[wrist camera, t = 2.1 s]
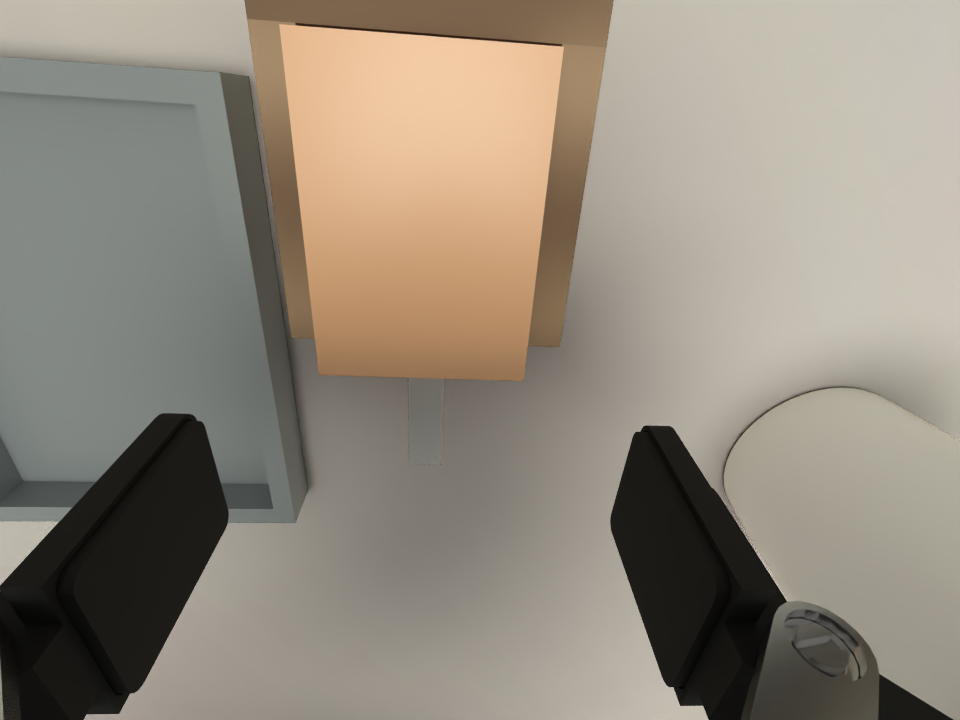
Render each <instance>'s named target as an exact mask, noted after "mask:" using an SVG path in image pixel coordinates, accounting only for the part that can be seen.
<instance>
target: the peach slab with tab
mask: <svg viewBox="0 0 960 720" xmlns="http://www.w3.org/2000/svg"><path fill="white" fill-rule="evenodd" d="M279 27H280V36H281V45H282V53H283V62H284V71H285V80H286V89H287V98H288V106H289V115H290V124H291V133H292V142H293V151H294V159H295V168H296V177H297V186H298V195H299V204H300V212H301V221H302V230H303V239H304V248H305V257H306V265H307V274H308V283H309V292H310V301H311V310H312V318H313V327H314V336H315V345H316V354H317V363H318V372H319V375H334V376H367V377H401V378H408V420H409V464H433V465H441V455H442V431H443V404H444V379H469V380H502V381H524V373H525V365H526V357H527V349H528V340H529V332H530V324H531V315H532V307H533V299H534V291H535V282H536V274H537V266H538V257H539V249H540V241H541V233H542V224H543V216H544V208H545V199H546V191H547V183H548V175H549V166H550V158H551V150H552V141H553V133H554V125H555V117H556V108H557V100H558V92H559V83H560V75H561V67H562V58H563V50H564V47H561V46H549V45H536V44H523V43H511V42H498V41H485V40H473V39H460V38H448V37H435V36H422V35H410V34H397V33H384V32H372V31H359V30H346V29H334V28H321V27H308V26H296V25H283V24H279Z"/></svg>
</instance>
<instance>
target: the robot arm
mask: <svg viewBox="0 0 960 720" xmlns="http://www.w3.org/2000/svg"><path fill="white" fill-rule="evenodd" d="M228 518H229V511H228V507H227V503H226V500H225V496H224V493H223V489H222V485H221V482H220V478H219V475H218V471H217V468H216V464H215V460H214V457H213V453H212V450H211V446H210V442H209V439H208V435H207V432H206V428H205V425H204V423H203V422H202V421H197V419H196V417H195V416H194V415H192V414H178V413H162V414H159V415H158V416H157V417H156V418H155V419H154V420H153V421H152V422H151V423H150V424H149V425H148V426H147V427H146V428H145V430H144V431H143V432H142V433H141V434H140V435H139V436H138V437H137V438H136V439H135V440H134V441H133V443H132V444H131V445H130V446H129V447H128V448H127V449H126V450H125V451H124V452H123V453H122V454H121V456H120V457H119V458H118V459H117V460H116V461H115V462H114V463H113V464H112V465H111V466H110V467H109V468H108V470H107V471H106V472H105V473H104V474H103V475H102V476H101V477H100V478H99V479H98V480H97V481H96V483H95V484H94V485H93V486H92V487H91V488H90V489H89V490H88V491H87V492H86V493H85V494H84V496H83V497H82V498H81V499H80V500H79V501H78V502H77V503H76V504H75V505H74V506H73V507H72V509H71V510H70V511H69V512H68V513H67V514H66V515H65V516H64V517H63V518H62V519H61V520H60V522H59V523H58V524H57V525H56V526H55V527H54V528H53V529H52V530H51V531H50V532H49V533H48V535H47V536H46V537H45V538H44V539H43V540H42V541H41V542H40V543H39V544H38V545H37V546H36V548H35V549H34V550H33V551H32V552H31V553H30V554H29V555H28V556H27V557H26V558H25V559H24V561H23V562H22V563H21V564H20V565H19V566H18V567H17V568H16V569H15V570H14V571H13V572H12V574H11V575H10V576H9V577H8V578H7V579H6V580H5V581H4V582H3V583H2V584H1V585H0V720H83V719H84V718H85V716H86V714H119V713H120V711H121V709H122V707H123V705H124V704H125V702H126V700H127V698H128V696H129V694H130V693H135V692H136V691H138V690H139V689H140V687H141V686H142V685H143V683H144V681H145V680H146V678H147V676H148V674H149V672H150V670H151V668H152V666H153V665H154V663H155V661H156V659H157V657H158V655H159V653H160V651H161V649H162V648H163V646H164V644H165V642H166V640H167V638H168V636H169V634H170V633H171V631H172V629H173V627H174V625H175V623H176V621H177V619H178V617H179V616H180V614H181V612H182V610H183V608H184V606H185V604H186V602H187V600H188V599H189V597H190V595H191V593H192V591H193V589H194V587H195V585H196V583H197V582H198V580H199V578H200V576H201V574H202V572H203V570H204V568H205V566H206V565H207V563H208V561H209V559H210V557H211V555H212V553H213V551H214V550H215V548H216V546H217V544H218V542H219V540H220V538H221V536H222V534H223V533H224V531H225V529H226V526H227V523H228ZM610 523H611V531H612V534H613V537H614V540H615V543H616V546H617V548H618V551H619V554H620V557H621V560H622V563H623V566H624V569H625V571H626V574H627V577H628V580H629V583H630V586H631V589H632V592H633V594H634V597H635V600H636V603H637V606H638V609H639V612H640V615H641V617H642V620H643V623H644V626H645V629H646V632H647V635H648V638H649V640H650V643H651V646H652V649H653V652H654V655H655V658H656V661H657V663H658V666H659V669H660V672H661V675H662V677H663V680H664V682H665V683H666V685H667V686H668V687H674V690H675V692H676V695H677V698H678V701H679V704H680V706H704V709H705V711H706V714H707V716H708V719H709V720H953V719H952V718H950V717H948V716H947V715H945V714H944V713H942V712H940V711H939V710H937V709H935V708H934V707H932V706H931V705H929V704H927V703H926V702H924V701H923V700H921V699H919V698H918V697H916V696H914V695H913V694H911V693H910V692H908V691H906V690H905V689H903V688H902V687H900V686H898V685H897V684H895V683H893V682H892V681H890V680H889V679H887V678H885V677H884V676H882V675H881V674H879V670H878V664H877V660H876V658H875V656H874V654H873V652H872V650H871V648H870V646H869V645H868V644H867V643H866V641H865V640H864V639H863V638H862V636H861V635H860V634H859V633H858V632H857V631H856V630H855V629H854V628H853V627H852V626H850V625H849V624H848V623H847V622H846V621H845V620H844V619H842V618H840V617H839V616H837V615H836V614H834V613H832V612H831V611H829V610H827V609H825V608H823V607H820V606H818V605H816V604H813V603H808V602H803V601H791V602H787V601H786V599H785V598H784V596H783V594H782V593H781V591H780V590H779V588H778V587H777V585H776V584H775V582H774V580H773V579H772V577H771V576H770V574H769V573H768V571H767V570H766V568H765V566H764V565H763V563H762V562H761V560H760V559H759V557H758V556H757V554H756V552H755V551H754V549H753V548H752V546H751V545H750V543H749V542H748V540H747V538H746V537H745V535H744V534H743V532H742V531H741V529H740V528H739V526H738V524H737V523H736V521H735V520H734V518H733V517H732V515H731V514H730V512H729V510H728V509H727V507H726V506H725V504H724V503H723V501H722V500H721V498H720V496H719V495H718V494H717V493H716V491H715V490H714V489H713V488H711V486H710V485H709V483H708V482H707V480H706V479H705V477H704V475H703V474H702V472H701V471H700V469H699V468H698V466H697V464H696V463H695V461H694V460H693V458H692V457H691V455H690V453H689V452H688V450H687V449H686V447H685V446H684V444H683V442H682V441H681V439H680V438H679V436H678V435H677V433H676V431H675V430H674V429H673V428H672V427H670V426H644V427H643V428H642V430H641V432H635V434H634V435H633V438H632V442H631V446H630V449H629V453H628V456H627V460H626V463H625V467H624V471H623V474H622V478H621V481H620V485H619V488H618V492H617V495H616V499H615V503H614V506H613V510H612V513H611V520H610Z"/></svg>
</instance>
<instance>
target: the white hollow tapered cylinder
mask: <svg viewBox="0 0 960 720" xmlns="http://www.w3.org/2000/svg"><path fill="white" fill-rule="evenodd" d="M724 488H725V492H726V495H727V498H728V500H729V502H730V504H731V506H732V508H733V510H734V512H735V513H736V515H737V517H738V519H739V520H740V522H741V524H742V526H743V527H744V529H745V531H746V532H747V534H748V536H749V537H750V539H751V541H752V542H753V544H754V546H755V547H756V549H757V551H758V552H759V554H760V556H761V558H762V559H763V561H764V563H765V564H766V566H767V568H768V569H769V571H770V573H771V574H772V576H773V578H774V579H775V581H776V582H777V584H778V586H779V587H780V589H781V591H782V592H783V594H784V596H785V597H786V599H787V601H788V602H791V601H803V602H808V603H813V604H816V605H818V606H820V607H823V608H825V609H827V610H829V611H831V612H832V613H834V614H836V615H837V616H839V617H840V618H842V619H844V620H845V621H846V622H847V623H848V624H849V625H850V626H852V627H853V628H854V629H855V630H856V631H857V632H858V633H859V634H860V635H861V636H862V638H863V639H864V640H865V641H866V643H867V644H868V645H869V646H870V648H871V650H872V652H873V654H874V656H875V658H876V660H877V664H878V670H879V674H881V675H882V676H884V677H885V678H887V679H889V680H890V681H892V682H893V683H895V684H897V685H898V686H900V687H902V688H903V689H905V690H906V691H908V692H910V693H911V694H913V695H914V696H916V697H918V698H919V699H921V700H923V701H924V702H926V703H927V704H929V705H931V706H932V707H934V708H935V709H937V710H939V711H940V712H942V713H944V714H945V715H947V716H948V717H950V718H952V719H953V720H960V441H959V440H957V439H955V438H954V437H952V436H950V435H949V434H947V433H945V432H943V431H942V430H940V429H938V428H937V427H935V426H933V425H931V424H930V423H928V422H926V421H925V420H923V419H921V418H919V417H918V416H916V415H914V414H912V413H911V412H909V411H907V410H905V409H904V408H902V407H900V406H898V405H896V404H895V403H893V402H891V401H889V400H887V399H885V398H883V397H881V396H879V395H877V394H874V393H872V392H868V391H865V390H861V389H855V388H829V389H822V390H817V391H813V392H809V393H806V394H803V395H800V396H797V397H795V398H792V399H790V400H788V401H786V402H784V403H782V404H780V405H778V406H776V407H775V408H773V409H771V410H770V411H768V412H767V413H766V414H764V415H763V416H761V417H760V418H759V419H758V420H757V421H755V422H754V423H753V424H752V425H751V426H750V427H749V428H748V429H747V430H746V431H745V432H744V433H743V434H742V436H741V437H740V438H739V440H738V441H737V442H736V444H735V445H734V447H733V449H732V451H731V452H730V455H729V457H728V459H727V462H726V465H725V470H724Z"/></svg>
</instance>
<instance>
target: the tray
mask: <svg viewBox="0 0 960 720" xmlns="http://www.w3.org/2000/svg"><path fill="white" fill-rule="evenodd" d="M162 413H178V414H192V415H194V416H195V417H196V419H197V421H202V422H203V423H204V425H205V428H206V432H207V435H208V439H209V442H210V446H211V450H212V453H213V457H214V460H215V464H216V468H217V471H218V475H219V478H220V482H221V485H222V489H223V493H224V496H225V500H226V503H227V507H228V511H229V518H228V523H296V520H297V517H298V515H299V512H300V509H301V507H302V504H303V502H304V499H305V496H306V494H307V491H308V487H307V480H306V473H305V466H304V459H303V452H302V445H301V438H300V431H299V424H298V417H297V410H296V403H295V396H294V389H293V383H292V376H291V369H290V362H289V355H288V348H287V341H286V334H285V327H284V320H283V313H282V306H281V299H280V292H279V286H278V279H277V272H276V265H275V258H274V251H273V244H272V237H271V230H270V223H269V216H268V209H267V202H266V195H265V188H264V182H263V175H262V168H261V161H260V154H259V147H258V140H257V133H256V126H255V119H254V112H253V105H252V98H251V91H250V84H249V78H248V77H247V76H240V75H234V74H227V73H220V72H207V71H193V70H179V69H165V68H151V67H137V66H123V65H109V64H96V63H82V62H68V61H54V60H40V59H26V58H12V57H0V521H59V522H60V520H61V519H62V518H63V517H64V516H65V515H66V514H67V513H68V512H69V511H70V510H71V509H72V507H73V506H74V505H75V504H76V503H77V502H78V501H79V500H80V499H81V498H82V497H83V496H84V494H85V493H86V492H87V491H88V490H89V489H90V488H91V487H92V486H93V485H94V484H95V483H96V481H97V480H98V479H99V478H100V477H101V476H102V475H103V474H104V473H105V472H106V471H107V470H108V468H109V467H110V466H111V465H112V464H113V463H114V462H115V461H116V460H117V459H118V458H119V457H120V456H121V454H122V453H123V452H124V451H125V450H126V449H127V448H128V447H129V446H130V445H131V444H132V443H133V441H134V440H135V439H136V438H137V437H138V436H139V435H140V434H141V433H142V432H143V431H144V430H145V428H146V427H147V426H148V425H149V424H150V423H151V422H152V421H153V420H154V419H155V418H156V417H157V416H158V415H159V414H162Z"/></svg>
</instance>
